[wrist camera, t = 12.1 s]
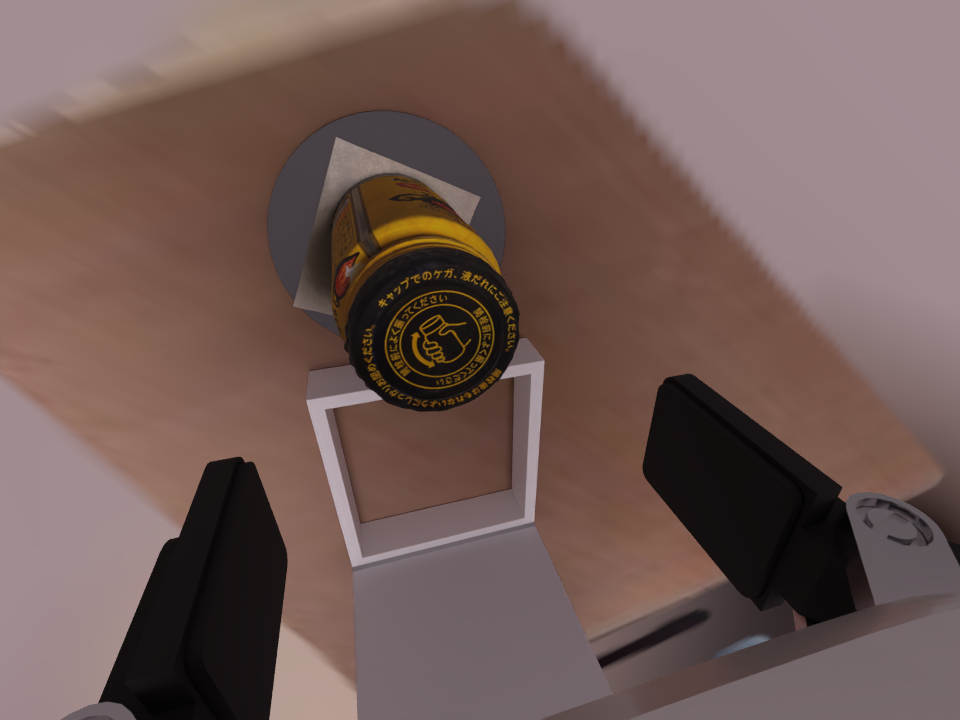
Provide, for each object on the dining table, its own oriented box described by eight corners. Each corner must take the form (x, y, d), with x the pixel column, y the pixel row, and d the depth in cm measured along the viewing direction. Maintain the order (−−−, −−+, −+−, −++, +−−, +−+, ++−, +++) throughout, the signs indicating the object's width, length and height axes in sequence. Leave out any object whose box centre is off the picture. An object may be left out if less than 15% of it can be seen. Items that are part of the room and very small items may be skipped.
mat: (500, 325, 28) (504, 330, 27) (300, 354, 26) (299, 361, 25) (501, 106, 22) (506, 106, 21) (237, 115, 19) (233, 116, 19)
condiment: (479, 196, 23) (588, 274, 13) (424, 337, 26) (478, 486, 16) (335, 136, 20) (335, 179, 10) (293, 304, 23) (261, 461, 13)
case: (520, 501, 37) (612, 705, 25) (353, 540, 34) (363, 795, 22) (526, 337, 29) (667, 519, 17) (308, 371, 26) (284, 621, 14)
